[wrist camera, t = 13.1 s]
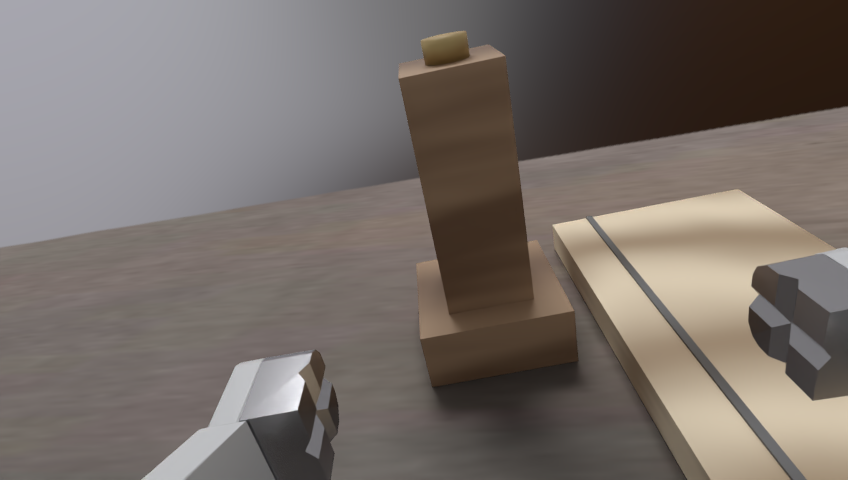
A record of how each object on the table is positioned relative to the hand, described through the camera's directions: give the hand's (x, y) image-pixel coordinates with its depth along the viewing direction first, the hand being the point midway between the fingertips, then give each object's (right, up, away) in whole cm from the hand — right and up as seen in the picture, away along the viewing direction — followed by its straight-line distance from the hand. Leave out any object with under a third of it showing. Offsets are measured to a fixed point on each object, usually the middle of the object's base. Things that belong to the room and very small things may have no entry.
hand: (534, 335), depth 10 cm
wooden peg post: (+1, -2, +14) cm, 14 cm away
